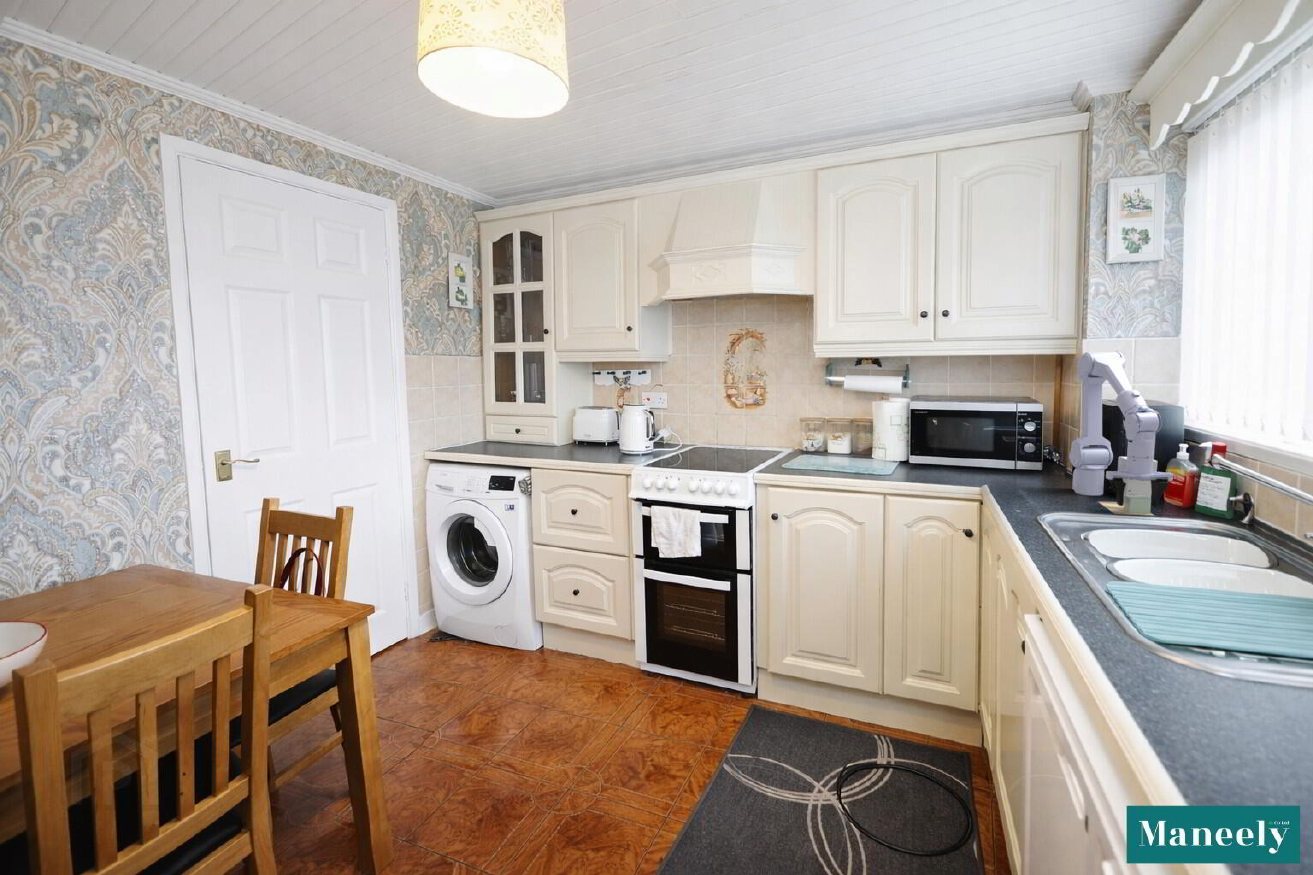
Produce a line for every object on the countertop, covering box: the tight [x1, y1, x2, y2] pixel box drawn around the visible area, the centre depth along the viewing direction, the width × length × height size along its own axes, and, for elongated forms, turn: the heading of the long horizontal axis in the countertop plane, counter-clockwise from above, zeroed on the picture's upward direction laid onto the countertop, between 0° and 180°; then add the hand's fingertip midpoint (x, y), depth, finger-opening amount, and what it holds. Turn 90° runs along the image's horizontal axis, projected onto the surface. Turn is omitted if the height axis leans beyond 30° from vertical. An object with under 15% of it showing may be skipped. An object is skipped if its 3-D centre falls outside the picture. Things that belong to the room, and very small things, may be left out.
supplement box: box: [1117, 456, 1158, 499], centre depth 188 cm, size 7×7×13 cm
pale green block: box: [1123, 495, 1152, 514], centre depth 172 cm, size 5×5×4 cm
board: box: [1097, 501, 1156, 517], centre depth 176 cm, size 14×9×1 cm, turn 162°
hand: (1136, 505), depth 172 cm, fingers open, 7 cm apart
